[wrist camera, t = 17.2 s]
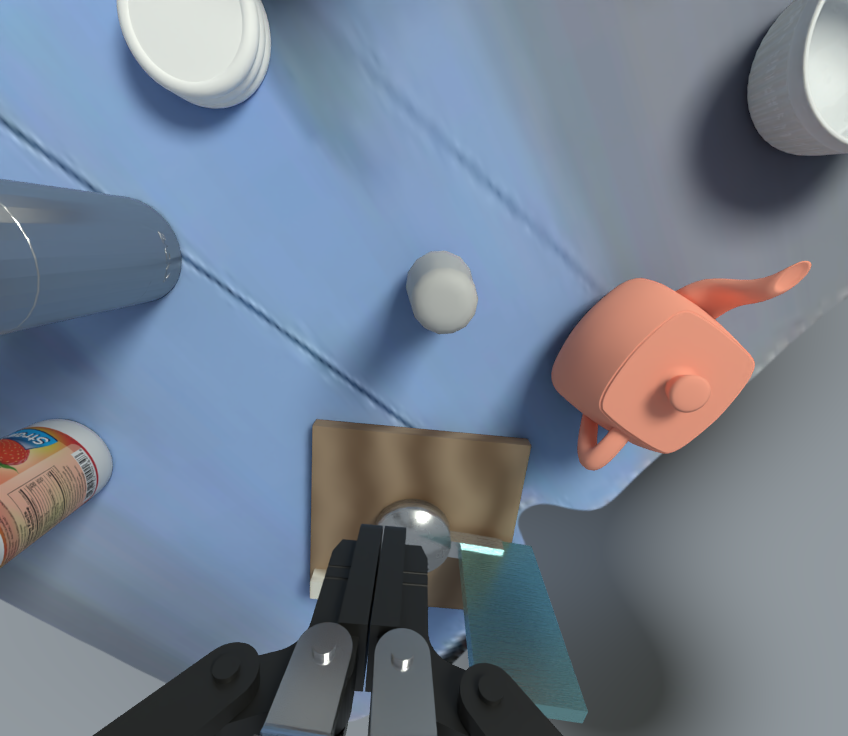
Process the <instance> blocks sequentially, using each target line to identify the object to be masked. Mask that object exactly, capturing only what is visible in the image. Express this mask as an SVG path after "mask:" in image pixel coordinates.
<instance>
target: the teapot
mask: <svg viewBox="0 0 848 736" xmlns="http://www.w3.org/2000/svg"><path fill="white" fill-rule="evenodd" d="M810 268H811V263H810V262H809V261H802V262H799V263H796V264H794V265H792V266H790V267H788V268H786V269H784V270H782V271H780V272H778V273H776V274H774V275H771V276H768V277H765V278H760V279H754V280H735V279H705V280H701V281H697V282H694V283H692V284H689V285H687V286H685V287H683V288H681V289H679V290H677V291H673V290H672V289H670V288H668V287H667V286H665V285H663V284H660V283H658V282H655V281H652V280H648V279H644V278H636V279H632V280H628V281H626V282H624V283H622V284H620V285H618V286H617V287H616V288H614V289H613V290H612V291H610V292H609V293H608V294H607V295H606V296H604V297H603V298H602V299H601V300H600V301H599V302H598V303H597V304H595V305H594V306H593V307H592V308H591V309H590V310H589V311H588V312H587V313H586V314H585V315H584V317H583V318H582V319H581V320H580V321H579V322H578V324H577V325H576V326H575V328H574V329H573V330H572V332H571V333H570V335H569V336H568V338H567V340H566V341H565V343H564V345H563V346H562V348H561V350H560V352H559V354H558V355H557V358H556V360H555V362H554V364H553V368H552V373H551V379H552V383H553V386H554V387H555V389H556V390H557V391H558V392H559V394H560V395H562V396H563V397H564V398H565V399H566V400H567V401H568V402H569V403H571V404H572V405H573V406H574V407H575V408H577V409H578V410H579V411H580V412H582V413H583V415H582V420H581V425H580V430H579V436H578V446H577V450H578V457H579V461H580V463H581V465H582V466H583V467H585V468H586V469H588V470H598V469H600V468H602V467H603V466H605V465H606V464H607V463H609V462H610V461H611V460H612V459H613V458H614V457H615V456H616V455H617V453H618V452H619V451H620V450H621V449H622V448H623V447H624V445H625V444H626V443H627V442H628V441H629V442H631V443H633V444H635V445H637V446H640V447H643V448H646V449H649V450H652V451H655V452H659V453H664V454H666V453H672V452H674V451H676V450H678V449H680V448H682V447H683V446H685V445H686V444H687V443H689V442H690V441H692V440H693V439H694V438H695V437H697V436H698V435H699V434H700V433H702V432H703V431H704V430H705V429H706V428H707V427H709V426H710V425H711V424H712V423H713V422H714V421H715V420H716V419H717V418H718V417H719V416H720V415H721V414H722V413H723V412H724V411H725V410H726V408H727V407H728V406H729V405H730V404H731V403H732V402H733V400H734V399H735V398H736V397H737V396H738V394H739V393H740V392H741V390H742V389H743V388H744V386H745V385H746V383H747V382H748V380H749V379H750V377H751V375H752V373H753V371H754V367H755V362H754V360H753V358H752V356H751V355H750V354H749V353H748V352H747V351H746V350H745V349H744V348H743V347H742V345H741V344H740V343H739V342H738V341H737V340H736V339H735V338H734V337H733V336H732V335H731V334H730V333H729V332H728V331H727V330H726V329H725V328H724V327H723V326H721V325H720V324H719V323H718V322H717V321H716V320H715V319H716V318H717V317H719V316H720V315H722V314H724V313H725V312H727V311H729V310H731V309H733V308H735V307H738V306H742V305H746V304H753V303H758V302H762V301H765V300H768V299H771V298H773V297H776V296H778V295H780V294H783V293H784V292H786V291H788V290H789V289H791V288H792V287H794V286H795V285H796V284H797V283H799V282H800V281H801V280H802V279H803V278H804V277H805V276H806V275H807V273H808V272H809V270H810ZM598 425H600V426H602V427H603V428H605V429H606V430H608V431H609V432H608V434H607V435H606V436H605V437H604V438H603V439H602V440H601V441H600V442H599V443H598V444H597V432H598Z"/></svg>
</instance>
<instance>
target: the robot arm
mask: <svg viewBox="0 0 848 736" xmlns="http://www.w3.org/2000/svg"><path fill="white" fill-rule="evenodd" d="M180 270H181V252H180V247H179V244H178V241H177V238H176V236H175V234H174V232H173V230H172V229H171V227H170V225H169V224H168V223H167V222H166V220H165V219H164V218H163V217H162V216H161V215H160V214H159V213H158V212H157V211H155V210H154V209H153V208H152V207H150V206H148V205H146V204H145V203H143V202H141V201H139V200H135V199H132V198H129V197H123V196H116V195H109V194H102V193H95V192H89V191H82V190H75V189H68V188H61V187H54V186H47V185H40V184H33V183H26V182H19V181H12V180H5V179H0V335H3V334H7V333H11V332H16V331H20V330H25V329H29V328H34V327H38V326H43V325H47V324H52V323H56V322H61V321H65V320H70V319H74V318H79V317H83V316H88V315H92V314H97V313H101V312H106V311H110V310H115V309H120V308H124V307H129V306H133V305H138V304H142V303H147V302H151V301H154V300H157V299H160V298H161V297H163V296H164V295H166V294H167V293H168V292H169V291H170V290H171V289H172V288H173V287H174V285H175V283H176V282H177V280H178V278H179V274H180ZM382 535H383V526H382V525H371V524H361V526H360V530H359V534H358V539H357V540H346V539H342V540H341V542H340V543H339V544H338V545H337V546H336V547H335V548H334V550H333V551H332V554H331V557H330V561H329V564H328V567H327V570H326V574H325V578H324V580H323V584H322V587H321V590H320V594H319V597H318V600H317V604H316V607H315V610H314V614H313V617H312V620H311V623H310V626H309V628H308V629H307V630H306V631H305V632H304V633H303V634H302V635H301V637H300V638H299V640H298V641H297V642H295V643H294V644H293V645H291V646H289V647H287V648H285V649H282V650H279V651H275V652H271V653H267V654H263V655H259V656H258V653H257V652H256V650H255V649H254V648H253V647H252V646H250V645H249V644H246V643H241V642H234V643H229V644H226V645H223V646H221V647H218V648H217V649H215V650H213V651H212V652H210V653H209V654H208V655H206V656H205V657H203V658H202V659H200V660H199V661H198V662H196V663H195V664H193V665H192V666H191V667H189V668H188V669H186V670H185V671H183V672H182V673H181V674H179V675H178V676H176V677H175V678H174V679H172V680H171V681H169V682H168V683H166V684H165V685H164V686H162V687H161V688H159V689H158V690H157V691H155V692H154V693H152V694H151V695H149V696H148V697H147V698H145V699H144V700H142V701H141V702H140V703H138V704H137V705H135V706H134V707H132V708H131V709H130V710H128V711H127V712H125V713H124V714H123V715H121V716H120V717H118V718H117V719H115V720H114V721H113V722H111V723H110V724H108V725H107V726H106V727H104V728H103V729H102V730H100V731H99V732H97V733H96V734H94V735H93V736H345V735H346V731H347V726H348V720H349V717H350V714H351V709H352V703H353V696H354V691H363V686H364V679H365V671H366V664H367V675H366V688H365V692H371V702H370V715H369V726H368V736H563V735H562V734H561V733H560V732H559V731H558V730H557V729H556V728H555V726H554V725H553V724H552V723H551V722H550V721H549V719H548V718H547V717H546V716H545V715H544V714H543V713H542V712H541V710H540V709H539V708H538V707H537V706H536V705H535V704H534V703H533V701H532V700H531V699H530V698H529V697H528V696H527V695H526V694H525V692H524V691H523V690H522V689H521V688H520V687H519V686H518V685H517V683H516V682H515V681H514V680H513V679H512V678H511V677H510V676H509V675H508V674H507V673H506V672H505V671H504V670H503V669H501V668H500V667H498V666H496V665H493V664H490V663H477V664H475V665H472V666H471V667H469V668H468V669H467V670H464V669H461V668H459V667H457V666H454V665H452V664H450V663H448V662H446V661H445V660H444V659H442V658H441V657H440V656H439V655H438V654H437V653H436V652H435V650H434V649H433V647H432V646H431V643H430V641H429V637H428V558H427V556H426V554H425V552H424V550H423V548H422V546H418V545H406V544H405V543H406V527H395V526H385V528H384V535H383V542H382ZM381 547H382V548H381ZM367 657H368V662H367Z"/></svg>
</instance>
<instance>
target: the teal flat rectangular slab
mask: <svg viewBox="0 0 848 736" xmlns="http://www.w3.org/2000/svg"><path fill="white" fill-rule="evenodd" d="M376 525H382V526H383V535H384V528H385V526H395V527H406V543H405V544H406V545H418V546H422V548H423V550H424V552H425V554H426V556H427V558H428V572H430V571H433V570H434V569H436V568H438V567H439V566H440V565H441V564H442V563H443V562H444V561H445V560H446V558H447V557H452V558H458V559H459V569H460V579H461V589H462V599H463V609H464V619H465V629H466V639H467V649H468V659H469V667H471V666H472V665H475V664H477V663H490V664H493V665H496V666H498V667H500V668H501V669H503V670H504V671H505V672H506V673H507V674H508V675H509V676H510V677H511V678H512V679H513V680H514V681H515V682H516V683H517V685H518V686H519V687H520V688H521V689H522V690H523V691H524V692H525V694H526V695H527V696H528V697H529V698H530V699H531V700H532V701H533V703H534V704H535V705H536V706H537V707H538V708H539V709H540V710H541V712H542V713H543V714H544V715H545V716H546V717H547V718H551V719H558V720H564V721H571V722H578V723H583V721H584V719H585V717H586V714H587V712H588V711H587V708H586V705H585V702H584V699H583V696H582V693H581V690H580V687H579V685H578V681H577V679H576V676H575V673H574V670H573V667H572V664H571V661H570V658H569V655H568V652H567V650H566V646H565V643H564V640H563V638H562V635H561V632H560V629H559V626H558V623H557V620H556V617H555V614H554V611H553V608H552V606H551V602H550V599H549V597H548V594H547V591H546V588H545V585H544V582H543V579H542V576H541V573H540V570H539V567H538V565H537V561H536V558H535V556H534V553H533V550H532V547H531V546H526V545H521V544H515V543H509V542H503V541H502V540H501V539H497V538H491V537H485V536H480V535H474V534H468V533H462V532H456V531H451V530H450V526H449V522H448V519H447V517H446V516H445V514H444V513H443V512H442V510H441V509H439V508H438V507H437V506H435V505H434V504H432V503H430V502H428V501H425V500H421V499H404V500H400V501H397V502H394V503H392V504H390V505H389V506H387V507H386V508H385V509H384V510H383V511H382V512H381V513H380V515H379V517H378V519H377V521H376ZM383 535H382V542H383ZM381 548H382V547H381Z"/></svg>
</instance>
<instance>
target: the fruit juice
mask: <svg viewBox="0 0 848 736" xmlns="http://www.w3.org/2000/svg"><path fill="white" fill-rule="evenodd" d="M112 470H113V462H112V457H111V454H110V451H109V449H108V447H107V446H106V444H105V443H104V442H103V440H102V439H101V438H100V437H99V436H98V435H97V434H96V433H95V432H93V431H92V430H91V429H89V428H88V427H86V426H84V425H82V424H80V423H77V422H74V421H71V420H66V419H49V420H44V421H40V422H37V423H34V424H32V425H29V426H27V427H25V428H23V429H21V430H19V431H17V432H14V433H12V434H10V435H8V436H6V437H4V438H2V439H0V568H1V567H2V566H4V565H5V564H6V563H8V562H9V561H10V560H12V559H13V558H14V557H15V556H17V555H18V554H19V553H21V552H22V551H23V550H25V549H26V548H27V547H28V546H30V545H31V544H32V543H34V542H35V541H36V540H38V539H39V538H40V537H41V536H43V535H44V534H45V533H47V532H48V531H49V530H51V529H52V528H53V527H54V526H56V525H57V524H58V523H60V522H61V521H62V520H63V519H65V518H66V517H67V516H69V515H70V514H71V513H73V512H74V511H75V510H76V509H78V508H79V507H80V506H82V505H83V504H84V503H86V502H87V501H88V500H89V499H91V498H92V497H93V496H95V495H96V494H97V493H98V492H99V491H100V490H101V489H102V488H103V487H104V486H105V485H106V484H107V482H108V481H109V479H110V477H111V474H112Z"/></svg>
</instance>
